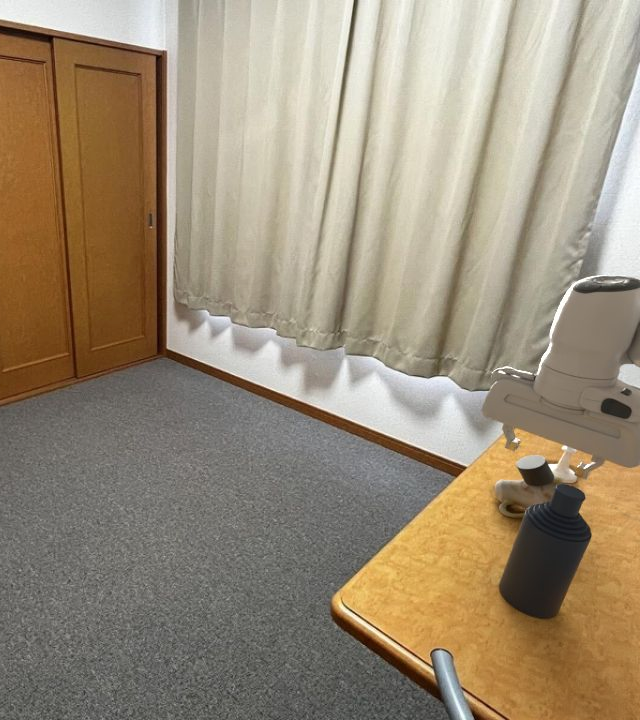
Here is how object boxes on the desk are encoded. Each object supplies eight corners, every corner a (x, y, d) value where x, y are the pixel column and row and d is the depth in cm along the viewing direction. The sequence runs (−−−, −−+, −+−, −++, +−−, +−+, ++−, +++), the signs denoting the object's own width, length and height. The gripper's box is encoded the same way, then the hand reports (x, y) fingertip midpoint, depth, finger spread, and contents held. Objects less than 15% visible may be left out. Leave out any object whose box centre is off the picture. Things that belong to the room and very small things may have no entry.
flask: (540, 580, 67) (583, 476, 60) (569, 622, 61) (620, 512, 54) (489, 575, 68) (525, 472, 61) (513, 615, 62) (556, 506, 55)
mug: (485, 486, 86) (531, 449, 82) (537, 528, 82) (588, 492, 78) (483, 499, 80) (531, 460, 76) (539, 545, 76) (593, 507, 72)
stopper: (550, 487, 75) (540, 469, 75) (520, 486, 78) (512, 469, 78) (558, 471, 77) (549, 454, 77) (529, 471, 80) (520, 455, 80)
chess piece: (580, 476, 88) (599, 430, 84) (570, 486, 85) (589, 439, 81) (549, 464, 92) (565, 419, 88) (538, 473, 89) (555, 427, 85)
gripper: (486, 368, 77) (466, 440, 82) (659, 418, 62) (621, 503, 67) (502, 358, 80) (482, 428, 86) (670, 403, 65) (633, 485, 70)
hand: (544, 461), depth 76 cm, fingers open, 8 cm apart
